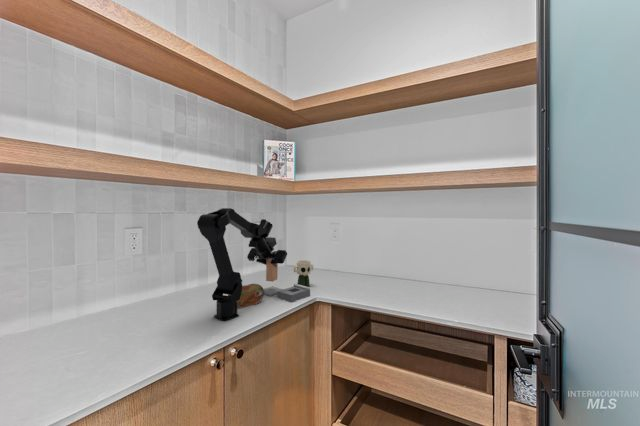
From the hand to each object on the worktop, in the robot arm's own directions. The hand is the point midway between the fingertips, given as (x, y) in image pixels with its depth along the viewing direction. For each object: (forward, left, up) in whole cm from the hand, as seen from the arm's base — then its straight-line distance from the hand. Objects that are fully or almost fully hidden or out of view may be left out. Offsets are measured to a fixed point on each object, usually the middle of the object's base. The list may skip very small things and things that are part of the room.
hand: (273, 265), depth 132 cm
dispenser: (+1, -13, -12) cm, 18 cm away
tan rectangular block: (-1, 0, -7) cm, 7 cm away
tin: (-20, -6, -13) cm, 25 cm away
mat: (-1, 0, -12) cm, 12 cm away
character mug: (+16, -5, -13) cm, 21 cm away
